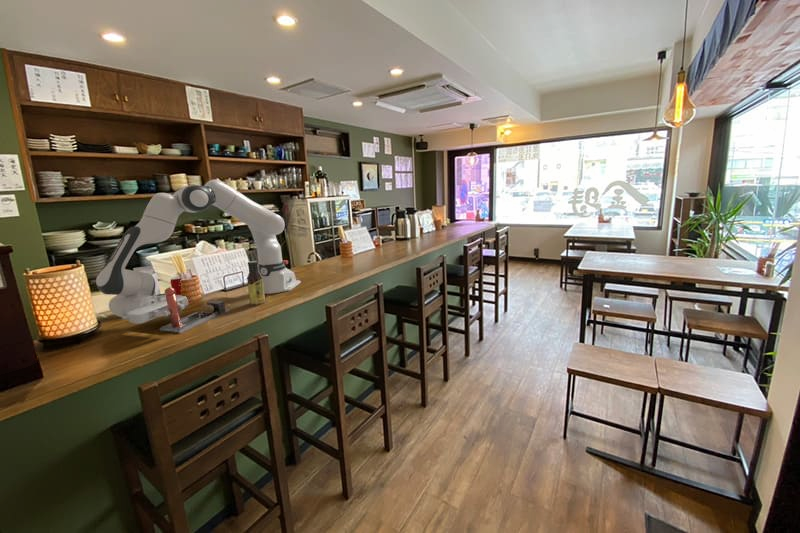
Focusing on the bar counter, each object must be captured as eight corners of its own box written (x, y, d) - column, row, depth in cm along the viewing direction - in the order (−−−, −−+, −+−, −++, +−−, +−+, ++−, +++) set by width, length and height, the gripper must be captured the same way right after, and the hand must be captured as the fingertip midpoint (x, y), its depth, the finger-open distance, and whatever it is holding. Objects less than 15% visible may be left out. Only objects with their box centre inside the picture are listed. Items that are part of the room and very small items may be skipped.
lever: (179, 323, 133) (171, 284, 130) (194, 324, 131) (186, 284, 128) (162, 330, 127) (153, 289, 123) (177, 332, 125) (168, 290, 121)
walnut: (209, 312, 145) (207, 303, 144) (217, 312, 143) (215, 303, 143) (201, 315, 141) (199, 306, 140) (209, 316, 140) (207, 307, 139)
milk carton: (144, 306, 159) (135, 266, 155) (163, 304, 162) (154, 264, 157) (140, 311, 153) (130, 269, 148) (159, 309, 155) (150, 267, 151)
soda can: (183, 303, 162) (178, 278, 159) (172, 303, 162) (166, 278, 159) (190, 299, 167) (186, 275, 164) (179, 299, 167) (174, 275, 165)
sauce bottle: (260, 308, 150) (253, 263, 146) (247, 308, 151) (240, 263, 147) (268, 303, 156) (262, 260, 152) (256, 302, 158) (250, 260, 153)
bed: (212, 310, 150) (210, 299, 149) (231, 312, 147) (229, 300, 146) (160, 334, 128) (157, 320, 127) (181, 336, 125) (178, 322, 124)
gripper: (116, 309, 121) (146, 312, 116) (170, 291, 139) (197, 293, 135) (120, 326, 122) (150, 330, 118) (173, 306, 141) (200, 308, 137)
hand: (175, 310), depth 127 cm, fingers open, 4 cm apart
